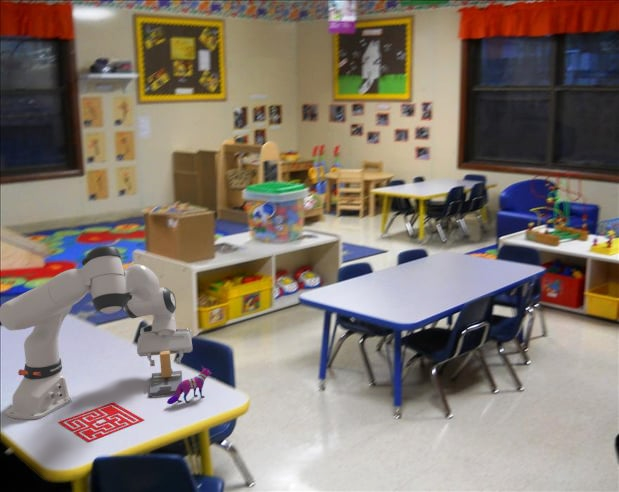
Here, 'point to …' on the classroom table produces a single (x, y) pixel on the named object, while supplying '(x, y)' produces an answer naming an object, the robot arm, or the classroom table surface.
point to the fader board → (165, 383)
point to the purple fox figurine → (190, 386)
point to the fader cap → (165, 364)
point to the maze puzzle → (90, 432)
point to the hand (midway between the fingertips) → (165, 364)
